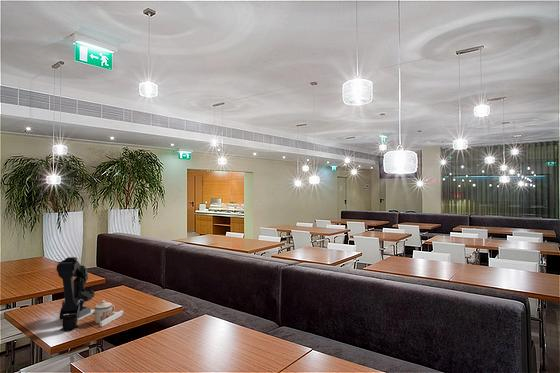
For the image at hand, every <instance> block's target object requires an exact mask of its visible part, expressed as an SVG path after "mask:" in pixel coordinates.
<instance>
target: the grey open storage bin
mask: <svg viewBox="0 0 560 373" xmlns="http://www.w3.org/2000/svg"><path fill="white" fill-rule="evenodd" d="M91 308H92V307H91V306H85V305H83V306H82V308H81V311H80V313H79V316H78V317H77V321H80V320H82V319H84V318H86V317H89V316H91V315H93V314H95V309H91ZM73 314H76V313H73ZM68 315H71V314H68ZM122 316H124V310H120V311H119V310H118V311H114V312H113V313H112V314H111V316H110V317H108V318H106V319H104V320H103V321H101V322H100V323H99V327H100V328H101V327H104V326H106V325H108V324H109V323H111V322H113V321H115V320H116V319H118V318H120V317H122Z"/></svg>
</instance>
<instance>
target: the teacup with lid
mask: <svg viewBox="0 0 560 373" xmlns="http://www.w3.org/2000/svg"><path fill="white" fill-rule="evenodd" d="M115 309H116V307H115V305H113V304H112V303H111V302H108V301H106V300H101V302H99V303H97V304H96V305H95V306H94V310H95V313H94V323H96V324H100V322H101V321H103V320H104V319H106V318H108V317H110V316H112V313H113V312H115Z"/></svg>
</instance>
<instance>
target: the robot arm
mask: <svg viewBox="0 0 560 373" xmlns="http://www.w3.org/2000/svg"><path fill="white" fill-rule="evenodd" d="M56 273H57V275H58V277H59V278H61V280H62V286H63V287H62V288H63V295H64V300H63V301H62V303H61V308H60V312H59V316H58V318H59V320H62V327H61V328H60V329H59V331H65V332H71V331H73V330H75V329H77V328H79V327H80V326H79V325H78V323H77V322H78V320H77V317H78V316H79V313H80V311H81V308H82V306H84V304H85V303H86V302H89V301H91V300H92V299H93V298H95V290H93V289H92V290H90V291H87V289H86V288H85V284H86V283H87V282H88V280H89V275H88V274H89V273H88V269H87V268H86V266H85V265H81V264H80V262H79V261H78V258H77V257H76V256H74V257H73V256H70V257H66V258H65V259H63V260H61V261H59V262H58V264H57V265H56ZM73 278H74V279H73ZM73 313H76V314H73ZM69 314H71V315H69Z"/></svg>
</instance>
